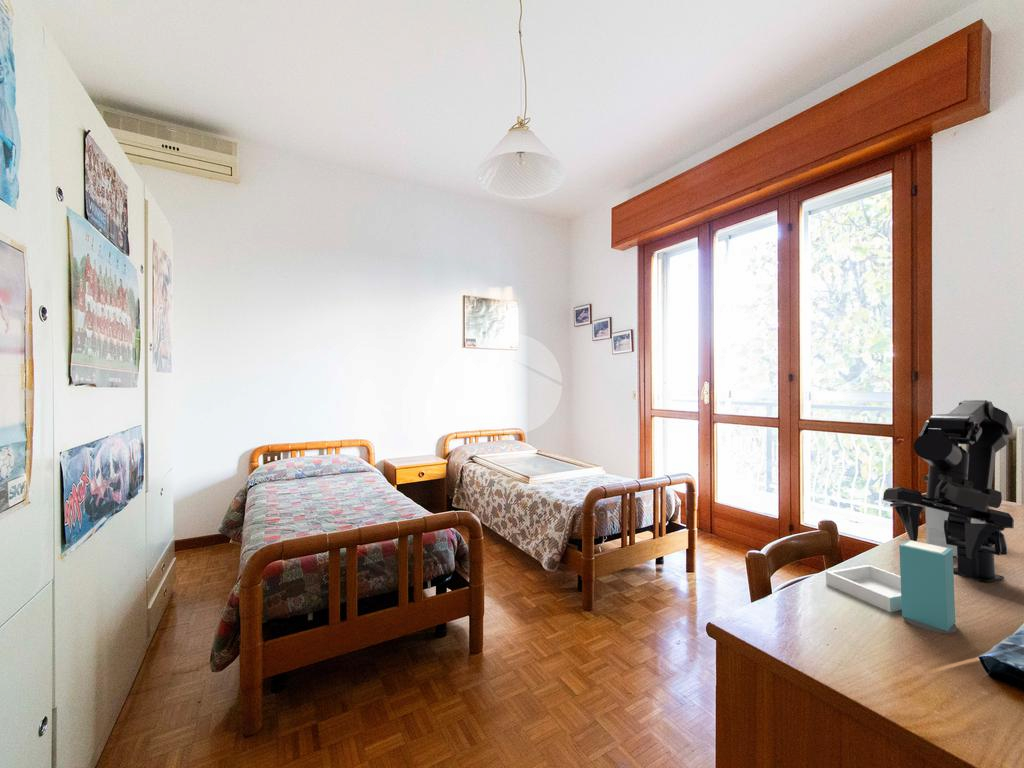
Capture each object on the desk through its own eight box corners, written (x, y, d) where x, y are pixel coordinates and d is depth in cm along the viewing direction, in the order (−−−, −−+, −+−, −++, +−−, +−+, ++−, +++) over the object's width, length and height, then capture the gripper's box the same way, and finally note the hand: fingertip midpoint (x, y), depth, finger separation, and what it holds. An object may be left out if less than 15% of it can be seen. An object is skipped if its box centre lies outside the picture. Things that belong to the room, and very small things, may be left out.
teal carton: (910, 608, 82) (908, 539, 82) (955, 622, 77) (952, 548, 77) (902, 616, 79) (899, 544, 79) (947, 631, 74) (944, 554, 74)
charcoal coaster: (919, 612, 82) (919, 607, 82) (966, 631, 75) (966, 626, 75) (892, 618, 80) (892, 612, 80) (938, 638, 73) (938, 632, 73)
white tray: (869, 577, 97) (868, 564, 97) (936, 604, 85) (936, 588, 85) (826, 585, 94) (825, 571, 94) (890, 613, 82) (889, 598, 82)
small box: (960, 558, 107) (958, 505, 107) (926, 550, 113) (924, 500, 113) (968, 551, 112) (966, 500, 112) (934, 544, 117) (933, 496, 117)
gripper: (918, 457, 84) (910, 537, 81) (1041, 484, 79) (1038, 571, 76) (885, 462, 95) (877, 534, 92) (992, 487, 89) (988, 564, 86)
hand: (941, 549), depth 86 cm, fingers open, 9 cm apart
